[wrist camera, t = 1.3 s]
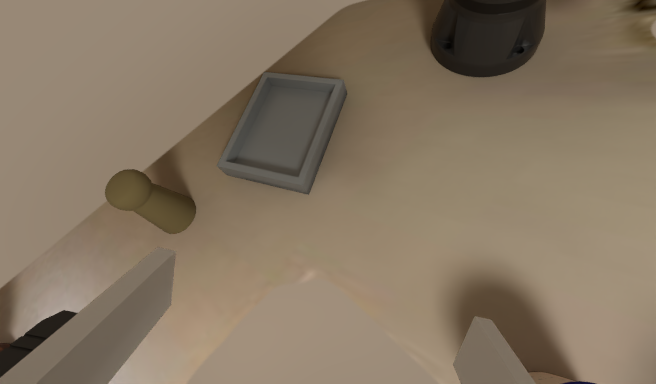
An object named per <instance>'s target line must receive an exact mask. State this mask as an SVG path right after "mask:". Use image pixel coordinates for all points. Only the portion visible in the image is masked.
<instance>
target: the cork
mask: <svg viewBox="0 0 656 384" xmlns="http://www.w3.org/2000/svg"><path fill="white" fill-rule="evenodd" d="M105 195H106V199H107V200H108V202H109V203H110V204H111V205H112V206H114V207H116V208H118V209H120V210H126V211H134V212H136V213H137V214H139V215H140V216H142V217H143V218H145V219H146V220H148V221H149V222H151V223H153V224H154V225H156V226H157V227H159V228H160V229H162V230H163V231H165V232H167V233H169V234H176V233H180V232H182V231H183V230H185V229H186V228H187V227H188V226H189V225H190V224H191V223H192V221H193V219H194V217H195V214H196V206H195V203H194V201H193V200H192V199H191V198H188V197H186V196H183V195H181V194H178V193H176V192H173V191H171V190H168V189H166V188H163V187H161V186H158V185H156V184H153V183H151V180H150V179H149V178H148V177H147V176H146V175H145V174H144V173H142V172H140V171H137V170H134V169H132V170H123V171H120V172H118V173H117V174H115V175H114V176H113V177H112V178H111V179H110V181H109V182H108V184H107V186H106V189H105Z"/></svg>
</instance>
